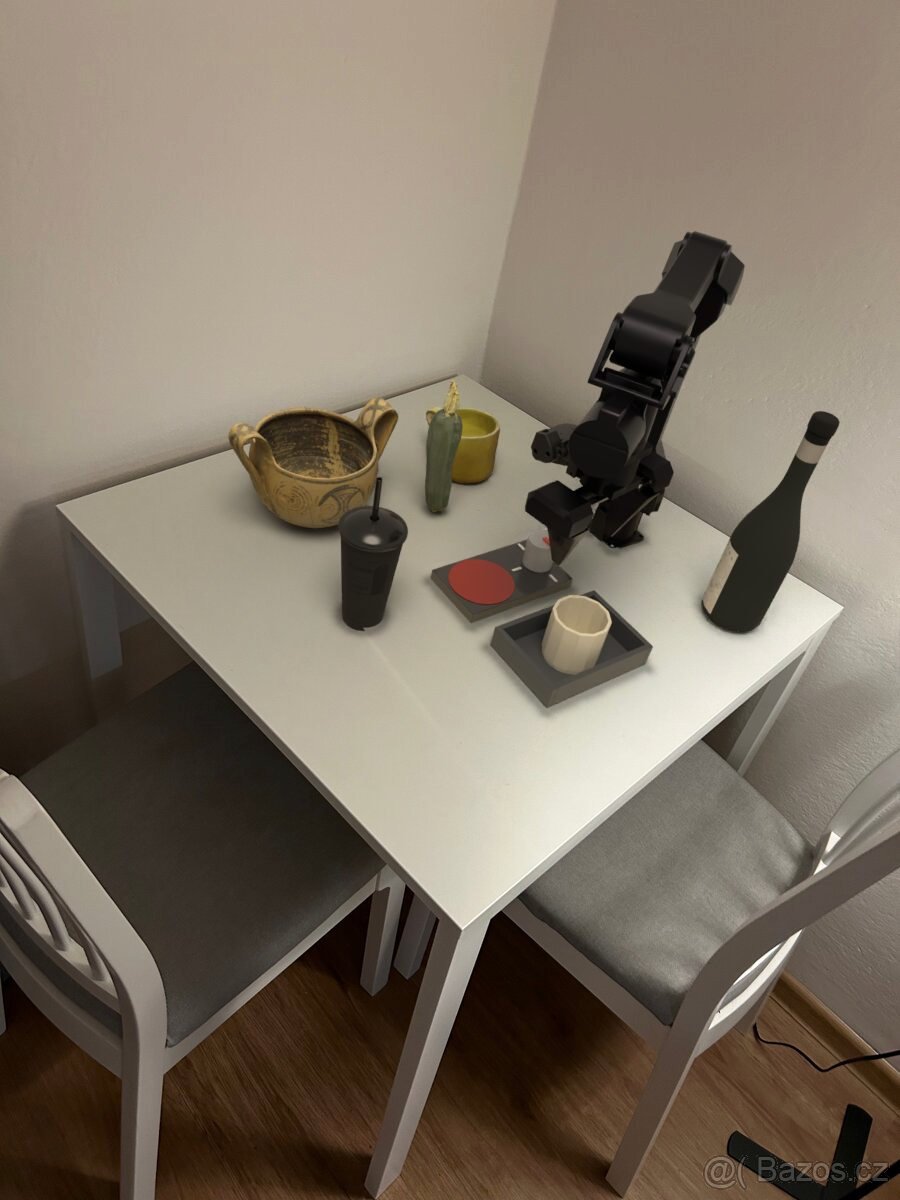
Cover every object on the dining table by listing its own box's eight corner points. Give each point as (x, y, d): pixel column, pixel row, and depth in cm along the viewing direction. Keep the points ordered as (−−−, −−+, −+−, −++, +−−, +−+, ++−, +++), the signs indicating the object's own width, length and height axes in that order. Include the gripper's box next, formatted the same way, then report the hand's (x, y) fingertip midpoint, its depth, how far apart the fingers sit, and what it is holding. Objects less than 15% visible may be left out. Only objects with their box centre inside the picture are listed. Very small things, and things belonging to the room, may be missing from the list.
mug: (520, 469, 132) (508, 411, 126) (464, 503, 129) (449, 445, 123) (473, 440, 141) (460, 385, 134) (420, 471, 138) (403, 416, 131)
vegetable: (442, 526, 123) (466, 397, 109) (412, 518, 123) (432, 388, 110) (449, 508, 126) (473, 380, 113) (419, 500, 126) (440, 372, 113)
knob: (515, 557, 117) (522, 531, 114) (539, 549, 119) (546, 524, 116) (534, 576, 114) (542, 550, 112) (558, 567, 116) (566, 542, 114)
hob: (536, 546, 122) (540, 534, 121) (578, 586, 117) (582, 574, 116) (429, 581, 114) (432, 568, 112) (469, 626, 109) (472, 613, 107)
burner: (488, 553, 117) (489, 552, 116) (527, 593, 112) (527, 592, 112) (435, 570, 112) (435, 569, 112) (473, 612, 108) (473, 611, 108)
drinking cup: (403, 608, 109) (426, 472, 96) (379, 647, 104) (399, 509, 90) (346, 587, 110) (360, 450, 97) (319, 625, 105) (330, 485, 92)
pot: (572, 628, 110) (585, 589, 106) (607, 664, 107) (622, 625, 102) (530, 644, 107) (542, 605, 103) (565, 682, 103) (578, 642, 99)
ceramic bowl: (262, 569, 110) (264, 468, 100) (206, 494, 120) (202, 394, 110) (413, 525, 122) (428, 430, 112) (351, 459, 131) (359, 366, 121)
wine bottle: (689, 615, 117) (781, 414, 97) (711, 586, 122) (803, 390, 102) (746, 645, 114) (853, 445, 94) (767, 614, 119) (871, 419, 99)
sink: (586, 610, 114) (594, 589, 112) (644, 667, 108) (653, 646, 106) (489, 648, 106) (494, 626, 104) (545, 711, 100) (552, 690, 98)
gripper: (616, 374, 101) (581, 487, 111) (502, 416, 90) (475, 538, 100) (696, 421, 96) (651, 535, 106) (585, 472, 85) (548, 594, 95)
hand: (582, 548), depth 102 cm, fingers open, 9 cm apart
